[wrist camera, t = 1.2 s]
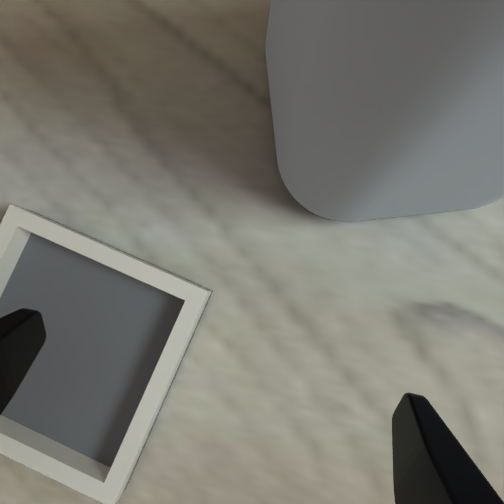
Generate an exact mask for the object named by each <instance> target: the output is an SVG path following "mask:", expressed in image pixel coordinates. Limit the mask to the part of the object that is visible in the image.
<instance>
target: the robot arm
mask: <svg viewBox="0 0 504 504" xmlns="http://www.w3.org/2000/svg"><path fill="white" fill-rule="evenodd" d="M45 340H46V330H45V326H44V321H43V317H42V314H41V313H40V312H39V311H38V310H33V309H29V308H21V309H18V310H16V311H14V312H12V313H9V314H7V315H5V316H3V317H1V318H0V415H1V414H2V412H3V411H4V409H5V408H6V407H7V405H8V404H9V402H10V401H11V399H12V398H13V396H14V395H15V393H16V391H17V390H18V388H19V386H20V385H21V383H22V381H23V379H24V378H25V376H26V374H27V373H28V371H29V369H30V367H31V366H32V364H33V362H34V360H35V359H36V357H37V355H38V354H39V352H40V350H41V348H42V347H43V345H44V343H45ZM392 444H393V480H394V495H395V504H504V502H503V501H502V500H501V498H500V497H499V495H498V494H497V493H496V491H495V490H494V489H493V487H492V486H491V485H490V483H489V482H488V481H487V479H486V478H485V477H484V475H483V474H482V473H481V471H480V470H479V469H478V467H477V466H476V465H475V463H474V462H473V461H472V459H471V458H470V456H469V455H468V454H467V452H466V451H465V450H464V448H463V447H462V446H461V444H460V443H459V442H458V440H457V439H456V438H455V436H454V435H453V434H452V432H451V431H450V430H449V428H448V427H447V426H446V424H445V423H444V421H443V420H442V419H441V417H440V416H439V415H438V413H437V412H436V411H435V409H434V408H433V407H432V405H431V404H430V403H429V401H428V400H427V399H426V398H425V397H424V396H421V395H417V394H413V393H406V394H404V396H403V397H402V399H401V401H400V402H399V404H398V406H397V408H396V410H395V411H394V413H393V417H392Z"/></svg>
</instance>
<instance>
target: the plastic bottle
mask: <svg viewBox="0 0 504 504" xmlns="http://www.w3.org/2000/svg"><path fill="white" fill-rule="evenodd" d="M265 53H266V64H267V73H268V82H269V91H270V100H271V109H272V118H273V127H274V137H275V146H276V155H277V163H278V168H279V172H280V175H281V178H282V180H283V182H284V184H285V186H286V188H287V189H288V191H289V192H290V194H291V195H292V196H293V197H294V198H295V199H296V200H297V202H299V203H300V204H301V205H302V206H303V207H305V208H306V209H307V210H309V211H311V212H312V213H314V214H316V215H318V216H321V217H323V218H326V219H330V220H334V221H342V222H353V221H363V220H373V219H383V218H392V217H402V216H411V215H421V214H430V213H440V212H450V211H459V210H468V209H474V208H478V207H482V206H485V205H488V204H490V203H492V202H494V201H497V200H499V199H501V198H503V197H504V0H271V2H270V10H269V19H268V27H267V35H266V45H265Z"/></svg>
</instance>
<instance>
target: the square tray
mask: <svg viewBox="0 0 504 504" xmlns="http://www.w3.org/2000/svg"><path fill="white" fill-rule="evenodd" d="M211 294H212V290H210V289H207V288H205V287H203V286H201V285H198V284H196V283H194V282H191V281H189V280H187V279H185V278H182V277H180V276H178V275H176V274H173V273H171V272H169V271H167V270H164V269H162V268H160V267H157V266H155V265H153V264H151V263H148V262H146V261H144V260H142V259H139V258H137V257H135V256H133V255H130V254H128V253H126V252H123V251H121V250H119V249H117V248H114V247H112V246H110V245H108V244H105V243H103V242H101V241H98V240H96V239H94V238H92V237H89V236H87V235H85V234H83V233H80V232H78V231H76V230H74V229H71V228H69V227H67V226H64V225H62V224H60V223H58V222H55V221H53V220H51V219H49V218H46V217H44V216H42V215H40V214H37V213H35V212H33V211H30V210H27V209H24V208H21V207H18V206H14V205H11V204H10V205H9V207H8V209H7V211H6V213H5V215H4V217H3V220H2V222H1V224H0V318H1V317H3V316H5V315H7V314H9V313H12V312H14V311H16V310H18V309H21V308H29V309H33V310H38V311H39V312H40V313H41V314H42V317H43V321H44V326H45V330H46V340H45V343H44V345H43V347H42V348H41V350H40V352H39V354H38V355H37V357H36V359H35V360H34V362H33V364H32V366H31V367H30V369H29V371H28V373H27V374H26V376H25V378H24V379H23V381H22V383H21V385H20V386H19V388H18V390H17V391H16V393H15V395H14V396H13V398H12V399H11V401H10V402H9V404H8V405H7V407H6V408H5V409H4V411H3V412H2V414H1V415H0V454H3V455H5V456H7V457H9V458H11V459H13V460H15V461H17V462H19V463H21V464H23V465H25V466H27V467H29V468H31V469H33V470H35V471H37V472H39V473H42V474H44V475H46V476H48V477H50V478H52V479H54V480H56V481H58V482H60V483H62V484H64V485H66V486H68V487H70V488H72V489H74V490H76V491H79V492H81V493H83V494H85V495H87V496H89V497H91V498H93V499H95V500H97V501H99V502H101V503H103V504H116V502H117V501H118V499H119V498H120V496H121V495H122V493H123V492H124V490H125V489H126V487H127V484H128V482H129V480H130V478H131V475H132V473H133V471H134V469H135V466H136V464H137V462H138V459H139V457H140V455H141V453H142V450H143V448H144V446H145V444H146V441H147V439H148V437H149V434H150V432H151V430H152V428H153V425H154V423H155V421H156V419H157V416H158V414H159V412H160V409H161V407H162V405H163V403H164V400H165V398H166V396H167V394H168V391H169V389H170V387H171V384H172V382H173V380H174V378H175V375H176V373H177V371H178V369H179V366H180V364H181V362H182V359H183V357H184V355H185V353H186V350H187V348H188V346H189V344H190V341H191V339H192V337H193V335H194V332H195V330H196V328H197V325H198V323H199V321H200V319H201V316H202V314H203V312H204V310H205V307H206V305H207V303H208V300H209V298H210V296H211Z"/></svg>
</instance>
